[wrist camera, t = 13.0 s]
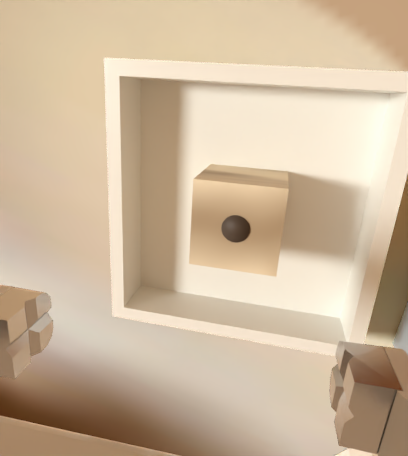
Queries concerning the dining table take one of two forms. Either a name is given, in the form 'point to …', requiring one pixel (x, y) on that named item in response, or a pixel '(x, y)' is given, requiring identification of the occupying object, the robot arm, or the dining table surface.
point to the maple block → (238, 218)
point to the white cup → (355, 453)
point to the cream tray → (262, 159)
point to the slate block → (402, 332)
